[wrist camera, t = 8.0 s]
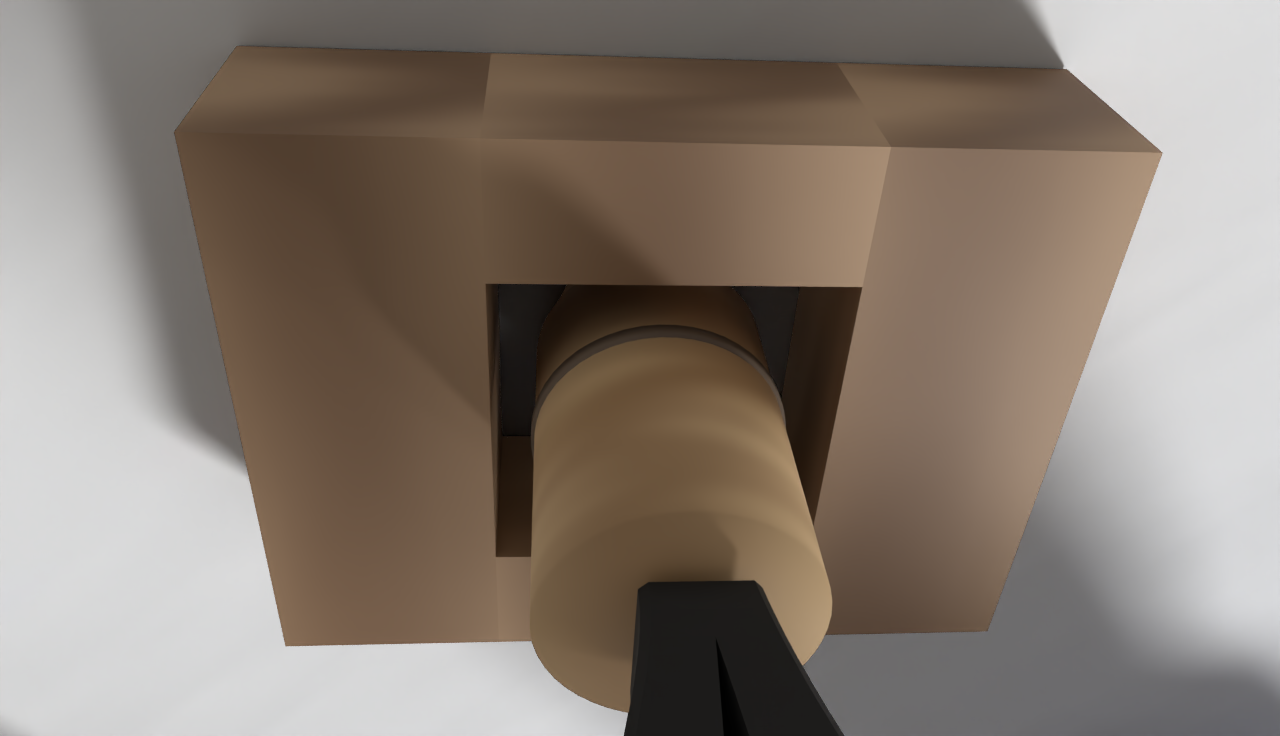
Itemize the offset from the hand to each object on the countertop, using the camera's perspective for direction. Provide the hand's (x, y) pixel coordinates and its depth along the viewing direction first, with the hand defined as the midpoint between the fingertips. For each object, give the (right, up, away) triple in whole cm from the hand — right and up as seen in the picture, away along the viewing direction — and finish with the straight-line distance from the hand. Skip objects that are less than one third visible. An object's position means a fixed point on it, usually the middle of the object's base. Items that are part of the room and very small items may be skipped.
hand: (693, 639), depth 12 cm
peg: (-1, +4, +6) cm, 7 cm away
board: (0, +4, +6) cm, 7 cm away
